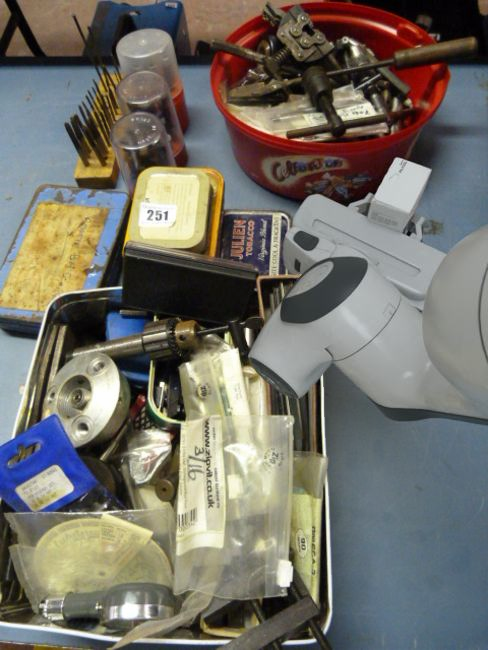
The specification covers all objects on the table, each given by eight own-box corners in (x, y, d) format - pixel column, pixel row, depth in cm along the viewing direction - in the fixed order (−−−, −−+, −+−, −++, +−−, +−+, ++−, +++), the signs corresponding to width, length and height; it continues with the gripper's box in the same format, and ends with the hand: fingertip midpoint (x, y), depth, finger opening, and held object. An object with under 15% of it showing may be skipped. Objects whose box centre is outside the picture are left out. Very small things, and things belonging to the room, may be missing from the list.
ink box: (389, 272, 69) (410, 213, 59) (355, 259, 71) (370, 199, 60) (410, 229, 73) (433, 166, 63) (377, 217, 74) (395, 154, 64)
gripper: (430, 308, 55) (480, 226, 61) (274, 228, 62) (332, 160, 67) (415, 335, 61) (463, 257, 66) (273, 259, 67) (326, 194, 72)
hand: (395, 208), depth 67 cm, fingers closed on ink box, 5 cm apart
